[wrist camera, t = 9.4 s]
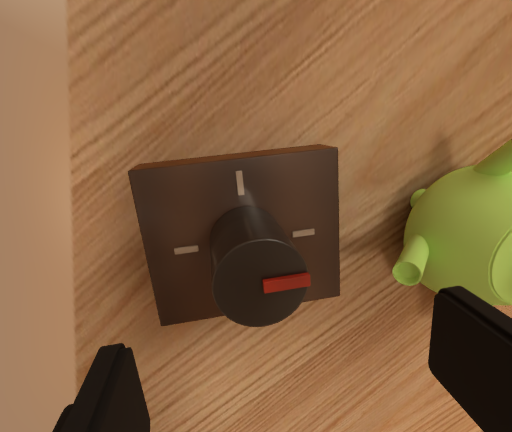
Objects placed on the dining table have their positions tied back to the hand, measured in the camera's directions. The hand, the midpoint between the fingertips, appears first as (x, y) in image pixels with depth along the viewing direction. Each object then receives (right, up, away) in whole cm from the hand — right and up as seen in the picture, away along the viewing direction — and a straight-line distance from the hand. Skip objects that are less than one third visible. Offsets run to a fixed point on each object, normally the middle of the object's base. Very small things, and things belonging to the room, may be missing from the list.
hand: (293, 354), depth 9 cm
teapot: (+13, +4, +15) cm, 20 cm away
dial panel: (-2, +4, +13) cm, 13 cm away
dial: (-2, +3, +10) cm, 10 cm away
